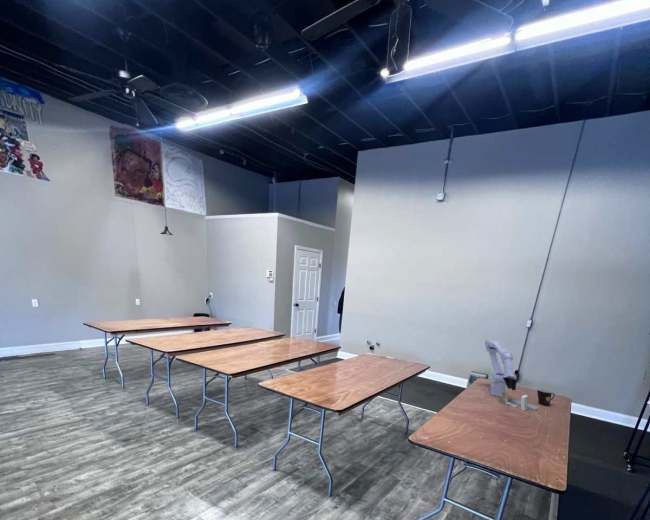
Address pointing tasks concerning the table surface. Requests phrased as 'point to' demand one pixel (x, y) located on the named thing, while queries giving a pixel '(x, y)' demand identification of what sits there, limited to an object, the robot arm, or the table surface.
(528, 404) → the mat
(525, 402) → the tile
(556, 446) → the table surface
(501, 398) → the turner
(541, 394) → the coffee mug
